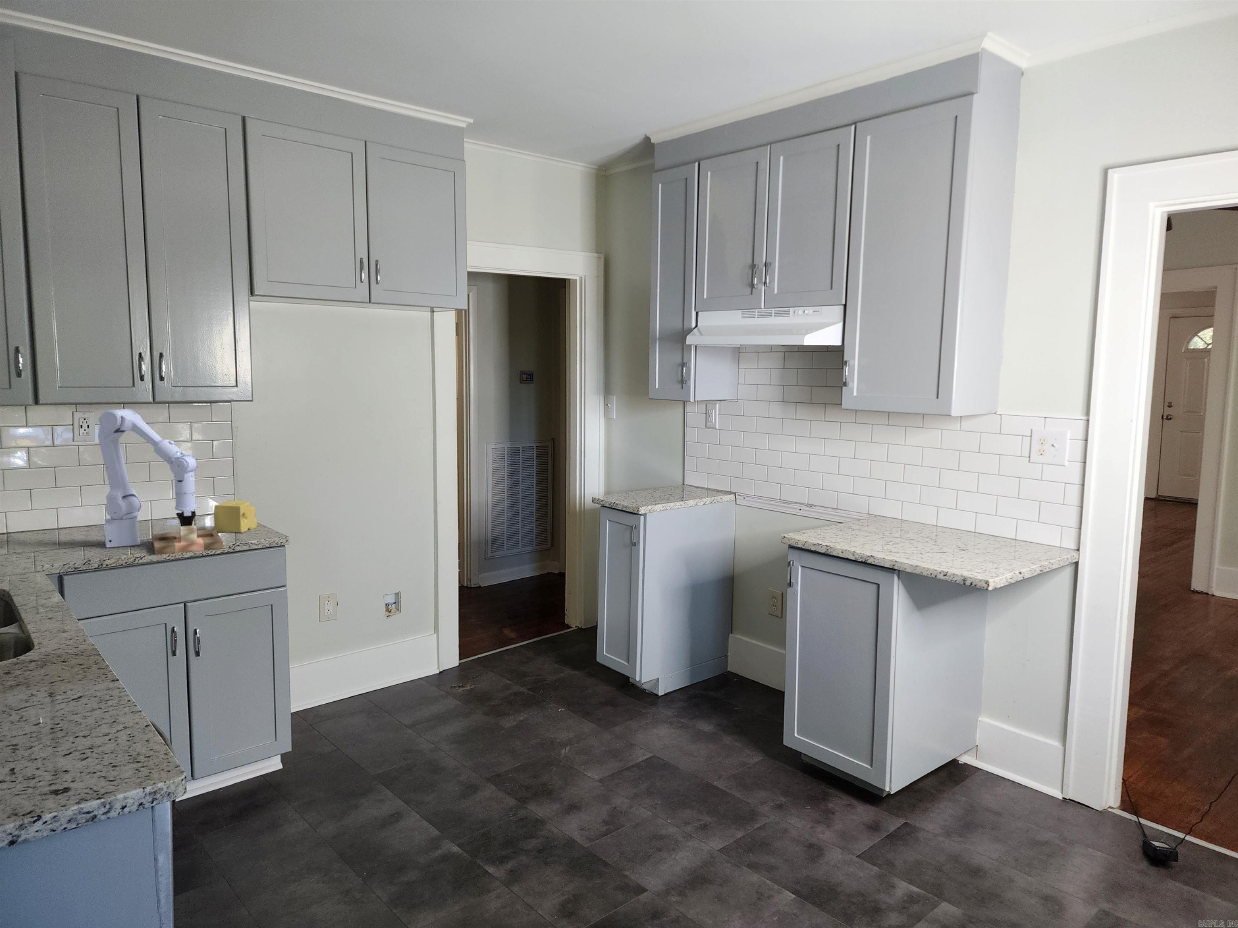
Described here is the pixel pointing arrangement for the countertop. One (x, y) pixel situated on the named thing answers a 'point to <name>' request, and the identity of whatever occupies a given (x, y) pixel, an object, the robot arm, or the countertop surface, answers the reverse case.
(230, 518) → the cheese
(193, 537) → the block
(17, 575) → the countertop surface
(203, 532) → the trap deck
